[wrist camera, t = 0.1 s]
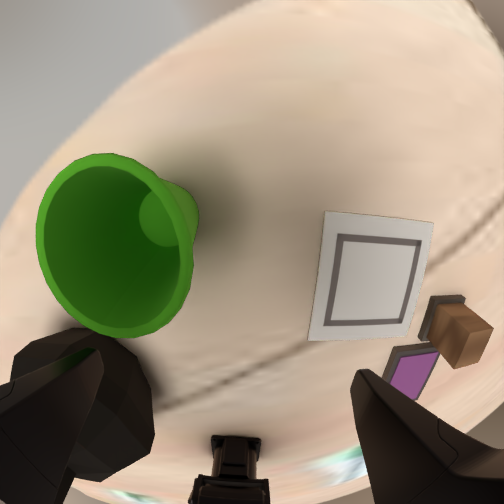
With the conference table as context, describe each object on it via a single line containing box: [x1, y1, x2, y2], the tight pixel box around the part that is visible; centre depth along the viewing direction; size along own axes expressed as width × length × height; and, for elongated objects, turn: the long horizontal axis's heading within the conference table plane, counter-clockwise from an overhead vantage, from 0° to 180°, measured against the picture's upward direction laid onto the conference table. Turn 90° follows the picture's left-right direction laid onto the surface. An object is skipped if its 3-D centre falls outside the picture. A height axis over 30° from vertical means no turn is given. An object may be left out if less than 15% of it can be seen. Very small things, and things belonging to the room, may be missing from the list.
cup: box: [36, 153, 199, 338], centre depth 16 cm, size 9×9×11 cm
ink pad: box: [382, 343, 440, 401], centre depth 26 cm, size 9×7×1 cm
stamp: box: [418, 295, 494, 369], centre depth 21 cm, size 5×5×7 cm
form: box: [307, 211, 434, 341], centre depth 23 cm, size 12×11×1 cm
